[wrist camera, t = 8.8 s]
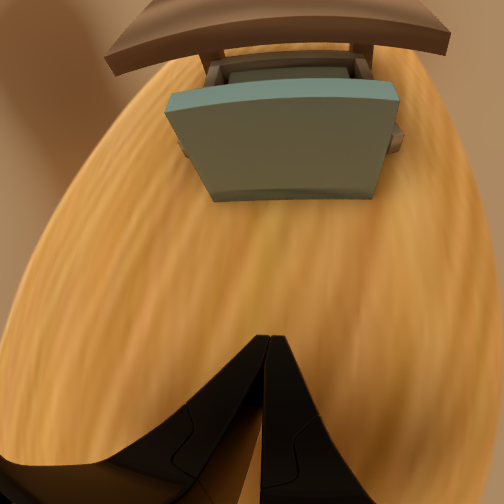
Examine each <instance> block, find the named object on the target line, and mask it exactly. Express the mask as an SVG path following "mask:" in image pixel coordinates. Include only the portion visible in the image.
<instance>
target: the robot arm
mask: <svg viewBox="0 0 504 504" xmlns="http://www.w3.org/2000/svg"><path fill="white" fill-rule="evenodd" d="M319 415H320V414H319V412H318V409H317V407H316V405H315V403H314V400H313V398H312V396H311V394H310V391H309V389H308V387H307V385H306V382H305V380H304V378H303V375H302V373H301V371H300V369H299V366H298V364H297V362H296V360H295V357H294V355H293V353H292V350H291V348H290V346H289V344H288V341H287V339H286V337H285V336H283V335H272V336H271V337H270V336H269V335H256V336H255V337H254V338H253V339H252V340H251V341H250V342H249V343H248V344H247V345H246V346H245V347H244V348H243V349H242V350H241V351H240V352H239V353H238V354H237V355H236V356H235V357H234V358H233V359H231V360H230V361H229V362H228V363H227V364H226V365H225V366H224V367H223V368H222V369H221V370H220V371H219V372H218V373H217V374H216V375H215V376H214V377H213V378H212V379H211V380H210V381H209V382H208V383H206V384H205V385H204V386H203V387H202V388H201V389H200V390H199V391H198V392H197V393H196V394H195V395H194V396H193V397H191V398H190V399H189V400H188V401H187V402H186V404H184V405H182V406H181V407H180V408H179V409H178V410H177V411H176V412H175V413H173V414H172V415H171V416H170V417H169V418H167V419H166V420H165V421H164V422H163V423H161V424H160V425H159V426H157V427H156V428H154V429H153V430H152V431H150V432H149V433H147V434H146V435H144V436H143V437H141V438H140V439H138V440H137V441H135V442H134V443H132V444H131V445H129V446H128V447H126V448H124V449H123V450H121V451H120V452H118V453H116V454H115V455H113V456H111V457H109V458H107V459H105V460H103V461H100V462H96V463H92V464H81V465H62V466H28V465H20V464H15V463H12V462H10V461H8V460H6V459H5V458H3V457H2V456H1V455H0V504H237V503H238V500H239V497H240V493H241V490H242V487H243V484H244V481H245V478H246V474H247V471H248V468H249V465H250V461H251V458H252V455H253V451H254V448H255V445H256V441H257V438H258V434H259V431H260V427H261V423H262V451H261V481H260V489H261V491H260V504H376V503H375V502H374V501H373V500H372V499H371V497H370V496H369V495H368V494H367V492H366V491H365V490H364V488H363V487H362V485H361V484H360V482H359V481H358V480H357V478H356V477H355V475H354V474H353V472H352V471H351V469H350V468H349V466H348V465H347V463H346V462H345V460H344V459H343V457H342V456H341V454H340V453H339V451H338V449H337V448H336V446H335V444H334V443H333V441H332V439H331V437H330V435H329V433H328V431H327V429H326V427H325V425H324V423H323V420H322V418H321V416H319Z"/></svg>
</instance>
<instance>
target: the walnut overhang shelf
mask: <svg viewBox="0 0 504 504" xmlns="http://www.w3.org/2000/svg"><path fill="white" fill-rule="evenodd" d="M450 35H451V32H450V31H449V30H448V29H447V28H446V27H445V26H444V25H443V24H442V23H441V22H440V21H439V20H438V19H437V18H436V17H435V16H434V15H433V14H432V13H431V12H430V11H429V10H428V9H427V8H426V7H425V6H424V5H423V4H422V3H421V2H420V1H419V0H153V1H152V2H151V3H150V4H149V5H148V6H147V7H146V8H145V9H144V10H143V11H142V12H141V13H140V14H139V15H138V16H137V18H136V19H135V20H134V21H133V22H132V23H131V24H130V26H129V27H128V28H127V29H126V30H125V31H124V32H123V34H122V35H121V36H120V37H119V38H118V40H117V41H116V42H115V43H114V44H113V46H112V47H111V48H110V50H109V51H108V52H107V53H106V55H105V56H104V58H105V60H106V62H107V63H108V65H109V67H110V68H111V70H112V71H113V73H114V75H115V76H118V75H121V74H124V73H127V72H130V71H134V70H137V69H140V68H144V67H147V66H151V65H154V64H158V63H162V62H166V61H170V60H174V59H178V58H183V57H187V56H192V55H197V54H199V56H200V59H201V62H202V64H203V67H204V70H205V73H206V75H207V77H206V80H205V83H204V87H203V88H206V87H212V86H219V85H223V84H224V80H229V78H230V73H232V72H241V71H250V70H260V69H273V68H290V67H347V70H348V74H354V75H355V78H356V79H364V80H374V79H373V76H372V74H371V71H370V70H371V68H372V58H373V48H374V45H381V46H390V47H397V48H405V49H411V50H418V51H423V52H428V53H433V54H438V55H443V56H445V55H446V51H447V48H448V43H449V39H450ZM307 42H331V43H350V48H349V51H332V50H308V51H282V52H268V53H257V54H247V55H239V56H232V57H225V54H224V50H225V49H232V48H240V47H248V46H257V45H268V44H282V43H307ZM403 137H404V133H403V131H402V130H401V128H400V127H399V126H398V124H397V123H396V122H395V123H394V126H393V130H392V134H391V138H390V141H389V145H388V148H387V152H388V153H392V152H396V151H399V149H400V146H401V143H402V140H403ZM177 142H178V144H179V146H180V147H181V149H182V151H183V153H184V155H185V156H186V157H188V158H189V156H188V155H187V153H186V151H185V149H184V147H183V146H182V144H181V142H180V140H178V141H177Z"/></svg>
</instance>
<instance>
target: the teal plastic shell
mask: <svg viewBox="0 0 504 504" xmlns="http://www.w3.org/2000/svg"><path fill="white" fill-rule="evenodd" d="M399 103H400V100H399V97H398V95H397V92H396V90H395V88H394V85H393V83H392V82H390V81H378V80H364V79H350V77H349V74H348V70H347V67H290V68H273V69H260V70H250V71H241V72H232V73H230V78H229V82H228V84H227V85H219V86H212V87H206V88H200V89H194V90H188V91H183V92H178V93H173V94H171V96H170V99H169V101H168V104H167V107H166V109H165V112H164V113H165V115H166V117H167V118H168V120H169V122H170V124H171V126H172V128H173V129H174V131H175V133H176V135H177V137H178V138H179V140H180V142H181V144H182V146H183V147H184V149H185V151H186V153H187V155H188V156H189V158H190V160H191V162H192V164H193V165H194V167H195V169H196V171H197V173H198V174H199V176H200V178H201V180H202V181H203V183H204V185H205V187H206V189H207V190H208V192H209V194H210V196H211V198H212V199H213V201H214V202H228V201H254V200H294V199H368V200H372V197H373V194H374V191H375V188H376V185H377V182H378V178H379V175H380V172H381V169H382V165H383V162H384V159H385V155H386V152H387V148H388V145H389V141H390V138H391V134H392V130H393V126H394V123H395V119H396V115H397V111H398V107H399Z"/></svg>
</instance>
